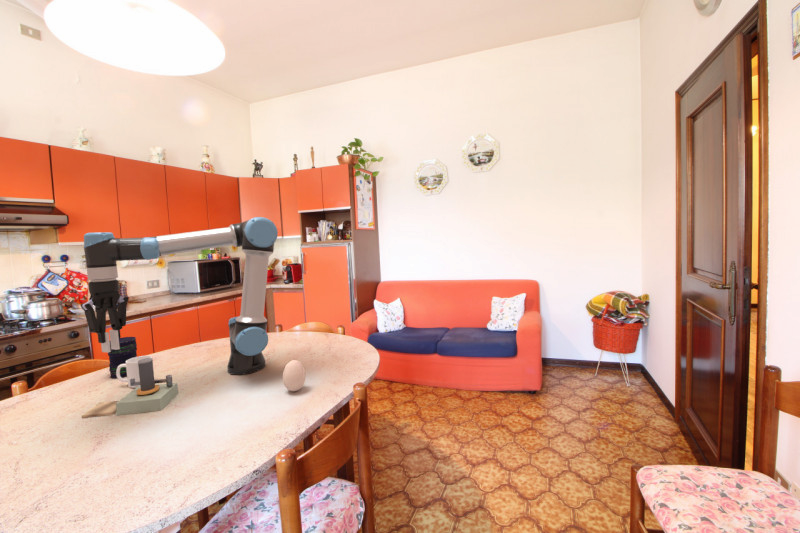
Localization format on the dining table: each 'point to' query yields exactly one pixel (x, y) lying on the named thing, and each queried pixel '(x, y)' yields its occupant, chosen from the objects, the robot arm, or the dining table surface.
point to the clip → (167, 381)
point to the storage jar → (122, 355)
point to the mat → (101, 409)
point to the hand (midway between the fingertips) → (110, 350)
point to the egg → (294, 375)
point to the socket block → (146, 400)
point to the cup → (131, 370)
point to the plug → (146, 377)
